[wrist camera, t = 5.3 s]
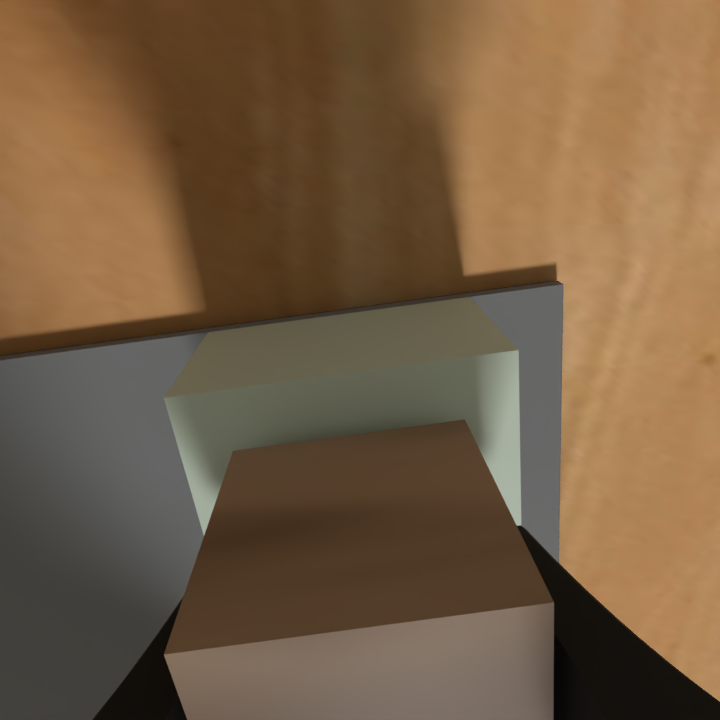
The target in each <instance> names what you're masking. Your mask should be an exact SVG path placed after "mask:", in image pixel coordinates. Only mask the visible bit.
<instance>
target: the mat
mask: <svg viewBox="0 0 720 720" xmlns="http://www.w3.org/2000/svg"><path fill="white" fill-rule="evenodd" d="M466 297H470V298H471V299H472V300H473V301H474V302H475V303H476V304H477V305H478V307H479V308H480V309H481V310H482V311H483V312H484V313H485V314H486V315H487V316H488V317H489V318H490V320H491V321H492V322H493V323H494V324H495V325H496V326H497V327H498V328H499V329H500V330H501V332H502V333H503V334H504V335H505V336H506V337H507V338H508V339H509V340H510V341H511V342H512V343H513V345H514V346H515V347H516V348H517V349H518V350H519V408H520V470H521V526H523V527H524V528H525V529H526V530H527V531H528V532H529V533H530V534H531V535H532V536H533V537H534V538H535V539H536V540H537V541H538V542H539V543H540V544H541V545H542V546H543V547H544V548H545V549H546V551H547V552H548V553H549V554H550V555H551V556H552V557H553V558H554V559H555V560H556V561H557V562H558V563H559V516H560V455H561V395H562V335H563V284H562V283H560V282H559V281H553V282H545V283H538V284H530V285H523V286H516V287H508V288H501V289H493V290H486V291H479V292H471V293H464V294H456V295H449V296H442V297H434V298H427V299H419V300H412V301H405V302H397V303H390V304H382V305H375V306H368V307H360V308H353V309H345V310H338V311H331V312H323V313H316V314H308V315H301V316H294V317H286V318H279V319H271V320H264V321H257V322H249V323H242V324H234V325H227V326H220V327H212V328H205V329H197V330H190V331H183V332H175V333H168V334H160V335H153V336H146V337H138V338H131V339H123V340H116V341H109V342H101V343H94V344H87V345H79V346H72V347H64V348H57V349H50V350H42V351H35V352H27V353H20V354H13V355H5V356H0V720H92V719H93V718H94V717H95V716H96V714H97V713H98V712H99V711H100V709H101V708H102V707H103V705H104V704H105V703H106V702H107V700H108V699H109V698H110V697H111V695H112V694H113V693H114V692H115V690H116V689H117V688H118V687H119V685H120V684H121V683H122V681H123V680H124V679H125V677H126V676H127V675H128V673H129V672H130V671H131V669H132V668H133V666H134V665H135V664H136V662H137V661H138V660H139V658H140V657H141V656H142V654H143V653H144V651H145V650H146V649H147V647H148V646H149V645H150V643H151V642H152V640H153V639H154V638H155V636H156V635H157V634H158V632H159V631H160V629H161V628H162V626H163V625H164V624H165V622H166V621H167V619H168V618H169V616H170V615H171V614H172V612H173V611H174V609H175V608H176V606H177V605H178V603H179V602H180V600H181V599H182V598H183V596H184V594H185V591H186V588H187V585H188V582H189V579H190V576H191V573H192V570H193V567H194V564H195V561H196V558H197V555H198V552H199V549H200V547H201V544H202V541H203V538H204V534H203V531H202V528H201V524H200V521H199V517H198V514H197V510H196V507H195V504H194V500H193V497H192V493H191V490H190V486H189V483H188V480H187V476H186V473H185V469H184V466H183V462H182V459H181V456H180V452H179V449H178V445H177V442H176V438H175V435H174V432H173V428H172V425H171V421H170V418H169V414H168V411H167V407H166V404H165V401H164V397H165V395H166V394H167V392H168V391H169V389H170V388H171V386H172V385H173V383H174V382H175V380H176V379H177V377H178V376H179V374H180V373H181V371H182V370H183V368H184V367H185V365H186V364H187V362H188V361H189V359H190V358H191V356H192V355H193V353H194V352H195V351H196V349H197V348H198V346H199V345H200V343H201V342H202V340H203V339H204V337H205V336H206V334H207V333H208V332H214V331H222V330H229V329H237V328H244V327H251V326H259V325H266V324H274V323H281V322H288V321H296V320H303V319H311V318H318V317H325V316H333V315H340V314H348V313H355V312H362V311H370V310H377V309H385V308H392V307H399V306H407V305H414V304H422V303H429V302H436V301H444V300H451V299H459V298H466Z"/></svg>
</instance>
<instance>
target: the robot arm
mask: <svg viewBox="0 0 720 720" xmlns="http://www.w3.org/2000/svg"><path fill="white" fill-rule="evenodd" d="M517 527H518V530H519V532H520V534H521V536H522V538H523V540H524V542H525V544H526V546H527V548H528V550H529V552H530V554H531V556H532V558H533V560H534V562H535V564H536V566H537V568H538V571H539V573H540V575H541V577H542V579H543V581H544V583H545V585H546V587H547V589H548V591H549V593H550V595H551V597H552V599H553V601H554V717H553V720H720V702H719V701H718V700H717V699H715V698H714V697H713V696H711V695H710V694H709V693H707V692H706V691H705V690H703V689H702V688H701V687H699V686H698V685H697V684H695V683H694V682H693V681H692V680H690V679H689V678H688V677H686V676H685V675H684V674H683V673H681V672H680V671H679V670H678V669H676V668H675V667H674V666H673V665H671V664H670V663H669V662H668V661H666V660H665V659H664V658H663V657H662V656H660V655H659V654H658V653H657V652H656V651H654V650H653V649H652V648H651V647H650V646H648V645H647V644H646V643H645V642H644V641H643V640H641V639H640V638H639V637H638V636H637V635H635V634H634V633H633V632H632V631H631V630H630V629H629V628H627V627H626V626H625V625H624V624H623V623H622V622H621V621H619V620H618V619H617V618H616V617H615V616H614V615H613V614H612V613H611V612H610V611H609V610H607V609H606V608H605V607H604V606H603V605H602V604H601V603H600V602H599V601H598V600H597V599H595V598H594V597H593V596H592V595H591V594H590V593H589V592H588V591H587V590H586V589H585V588H584V587H583V586H582V585H581V584H580V583H578V582H577V581H576V580H575V579H574V578H573V577H572V576H571V575H570V574H569V573H568V572H567V571H566V570H565V569H564V568H563V567H562V566H561V565H560V564H559V563H558V562H557V561H556V560H555V559H554V558H553V557H552V556H551V555H550V554H549V553H548V552H547V551H546V549H545V548H544V547H543V546H542V545H541V544H540V543H539V542H538V541H537V540H536V539H535V538H534V537H533V536H532V535H531V534H530V533H529V532H528V531H527V530H526V529H525V528H524V527H523V526H521V525H519V526H517ZM183 597H184V596H183ZM182 600H183V598H182V599H181V600H180V602H179V603H178V605H177V606H176V608H175V609H174V611H173V612H172V614H171V615H170V616H169V618H168V619H167V621H166V622H165V624H164V625H163V626H162V628H161V629H160V631H159V632H158V634H157V635H156V636H155V638H154V639H153V640H152V642H151V643H150V645H149V646H148V647H147V649H146V650H145V651H144V653H143V654H142V656H141V657H140V658H139V660H138V661H137V662H136V664H135V665H134V666H133V668H132V669H131V671H130V672H129V673H128V675H127V676H126V677H125V679H124V680H123V681H122V683H121V684H120V685H119V687H118V688H117V689H116V690H115V692H114V693H113V694H112V695H111V697H110V698H109V699H108V700H107V702H106V703H105V704H104V705H103V707H102V708H101V709H100V711H99V712H98V713H97V714H96V716H95V717H94V718H93V719H92V720H187V718H186V715H185V712H184V709H183V707H182V704H181V701H180V698H179V695H178V693H177V690H176V687H175V684H174V682H173V679H172V676H171V673H170V670H169V668H168V665H167V662H166V659H165V657H164V653H165V650H166V647H167V644H168V641H169V638H170V635H171V632H172V629H173V626H174V623H175V620H176V617H177V614H178V611H179V608H180V605H181V603H182Z"/></svg>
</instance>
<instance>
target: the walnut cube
mask: <svg viewBox="0 0 720 720" xmlns="http://www.w3.org/2000/svg"><path fill="white" fill-rule="evenodd" d="M164 657H165V659H166V662H167V665H168V668H169V670H170V673H171V676H172V679H173V682H174V684H175V687H176V690H177V693H178V695H179V698H180V701H181V704H182V707H183V709H184V712H185V715H186V718H187V720H553V717H554V601H553V599H552V597H551V595H550V593H549V591H548V589H547V587H546V585H545V583H544V581H543V579H542V577H541V575H540V573H539V571H538V568H537V566H536V564H535V562H534V560H533V558H532V556H531V554H530V552H529V550H528V548H527V546H526V544H525V542H524V540H523V538H522V536H521V534H520V532H519V530H518V527H517V525H516V523H515V521H514V519H513V517H512V515H511V513H510V511H509V509H508V507H507V505H506V503H505V501H504V499H503V497H502V495H501V493H500V491H499V489H498V486H497V484H496V482H495V480H494V478H493V476H492V474H491V472H490V470H489V468H488V466H487V464H486V462H485V460H484V458H483V456H482V454H481V452H480V450H479V447H478V445H477V443H476V441H475V439H474V437H473V435H472V433H471V431H470V429H469V427H468V425H467V423H466V421H465V419H464V420H457V421H450V422H442V423H435V424H427V425H420V426H413V427H405V428H398V429H390V430H383V431H376V432H368V433H361V434H354V435H346V436H339V437H331V438H324V439H317V440H309V441H302V442H294V443H287V444H280V445H272V446H265V447H258V448H250V449H243V450H235V451H233V452H232V455H231V458H230V461H229V464H228V467H227V470H226V473H225V476H224V479H223V482H222V485H221V488H220V491H219V493H218V496H217V499H216V502H215V505H214V508H213V511H212V514H211V517H210V520H209V523H208V526H207V529H206V532H205V535H204V538H203V541H202V544H201V547H200V549H199V552H198V555H197V558H196V561H195V564H194V567H193V570H192V573H191V576H190V579H189V582H188V585H187V588H186V591H185V594H184V597H183V600H182V603H181V605H180V608H179V611H178V614H177V617H176V620H175V623H174V626H173V629H172V632H171V635H170V638H169V641H168V644H167V647H166V650H165V653H164Z"/></svg>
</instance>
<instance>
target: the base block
mask: <svg viewBox="0 0 720 720" xmlns="http://www.w3.org/2000/svg"><path fill="white" fill-rule="evenodd" d="M164 401H165V404H166V407H167V411H168V414H169V418H170V421H171V425H172V428H173V432H174V435H175V438H176V442H177V445H178V449H179V452H180V456H181V459H182V462H183V466H184V469H185V473H186V476H187V480H188V483H189V486H190V490H191V493H192V497H193V500H194V504H195V507H196V510H197V514H198V517H199V521H200V524H201V528H202V531H203V534H204V535H205V532H206V529H207V526H208V523H209V520H210V517H211V514H212V511H213V508H214V505H215V502H216V499H217V496H218V493H219V491H220V488H221V485H222V482H223V479H224V476H225V473H226V470H227V467H228V464H229V461H230V458H231V455H232V452H233V451H235V450H243V449H250V448H258V447H265V446H272V445H280V444H287V443H294V442H302V441H309V440H317V439H324V438H331V437H339V436H346V435H354V434H361V433H368V432H376V431H383V430H390V429H398V428H405V427H413V426H420V425H427V424H435V423H442V422H450V421H457V420H464V419H465V421H466V423H467V425H468V427H469V429H470V431H471V433H472V435H473V437H474V439H475V441H476V443H477V445H478V447H479V450H480V452H481V454H482V456H483V458H484V460H485V462H486V464H487V466H488V468H489V470H490V472H491V474H492V476H493V478H494V480H495V482H496V484H497V486H498V489H499V491H500V493H501V495H502V497H503V499H504V501H505V503H506V505H507V507H508V509H509V511H510V513H511V515H512V517H513V519H514V521H515V523H516V525H517V526H519V525H521V470H520V408H519V350H518V349H517V348H516V347H515V346H514V345H513V343H512V342H511V341H510V340H509V339H508V338H507V337H506V336H505V335H504V334H503V333H502V332H501V330H500V329H499V328H498V327H497V326H496V325H495V324H494V323H493V322H492V321H491V320H490V318H489V317H488V316H487V315H486V314H485V313H484V312H483V311H482V310H481V309H480V308H479V307H478V305H477V304H476V303H475V302H474V301H473V300H472V299H471V298H470V297H466V298H459V299H451V300H444V301H436V302H429V303H422V304H414V305H407V306H399V307H392V308H385V309H377V310H370V311H362V312H355V313H348V314H340V315H333V316H325V317H318V318H311V319H303V320H296V321H288V322H281V323H274V324H266V325H259V326H251V327H244V328H237V329H229V330H222V331H214V332H208V333H207V334H206V336H205V337H204V339H203V340H202V342H201V343H200V345H199V346H198V348H197V349H196V351H195V352H194V353H193V355H192V356H191V358H190V359H189V361H188V362H187V364H186V365H185V367H184V368H183V370H182V371H181V373H180V374H179V376H178V377H177V379H176V380H175V382H174V383H173V385H172V386H171V388H170V389H169V391H168V392H167V394H166V395H165V397H164Z"/></svg>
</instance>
